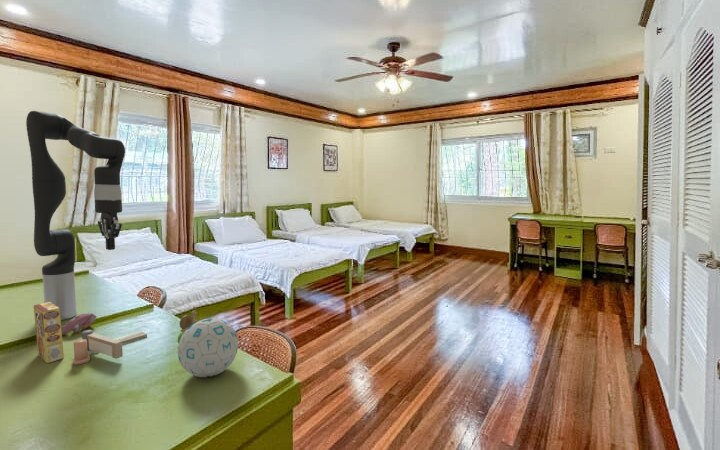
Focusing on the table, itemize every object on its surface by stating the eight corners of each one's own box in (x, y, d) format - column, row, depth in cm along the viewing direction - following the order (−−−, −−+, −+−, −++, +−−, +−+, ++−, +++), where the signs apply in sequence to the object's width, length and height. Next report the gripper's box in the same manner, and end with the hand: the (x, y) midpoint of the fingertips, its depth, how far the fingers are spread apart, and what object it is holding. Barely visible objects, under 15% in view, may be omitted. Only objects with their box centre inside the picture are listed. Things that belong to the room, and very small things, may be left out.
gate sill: (78, 352, 110) (77, 349, 110) (141, 333, 125) (141, 331, 125) (83, 356, 108) (83, 353, 108) (147, 336, 123) (146, 333, 123)
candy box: (64, 358, 107) (61, 307, 105) (46, 364, 103) (42, 311, 102) (54, 350, 112) (51, 301, 110) (36, 355, 108) (32, 304, 107)
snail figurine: (203, 343, 118) (202, 307, 117) (187, 352, 112) (186, 314, 111) (189, 341, 120) (188, 305, 119) (173, 349, 114) (172, 311, 113)
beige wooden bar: (80, 349, 110) (79, 332, 110) (90, 345, 112) (89, 329, 112) (114, 360, 104) (114, 342, 103) (124, 356, 106) (123, 339, 106)
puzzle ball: (248, 364, 106) (248, 313, 104) (217, 392, 91) (215, 334, 90) (202, 357, 109) (201, 308, 107) (165, 383, 94) (162, 327, 93)
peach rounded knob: (70, 362, 105) (69, 341, 104) (86, 356, 108) (85, 337, 107) (75, 366, 102) (74, 345, 102) (92, 360, 106) (91, 340, 105)
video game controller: (67, 340, 123) (74, 323, 121) (57, 333, 123) (63, 316, 122) (94, 329, 132) (100, 313, 131) (84, 322, 133) (90, 306, 132)
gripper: (87, 197, 123) (89, 248, 125) (104, 199, 116) (106, 253, 118) (112, 197, 129) (114, 245, 131) (129, 199, 122) (131, 250, 124)
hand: (110, 249), depth 124 cm, fingers closed
